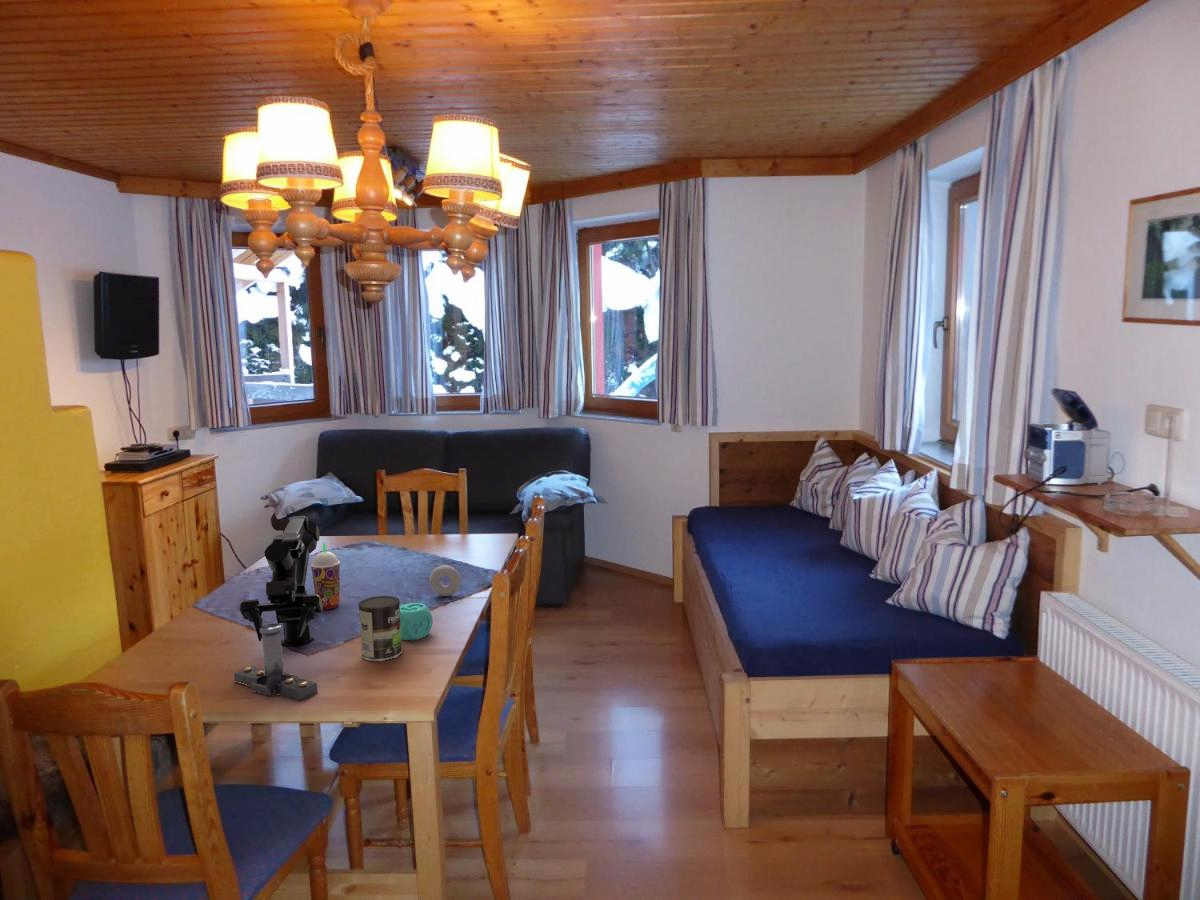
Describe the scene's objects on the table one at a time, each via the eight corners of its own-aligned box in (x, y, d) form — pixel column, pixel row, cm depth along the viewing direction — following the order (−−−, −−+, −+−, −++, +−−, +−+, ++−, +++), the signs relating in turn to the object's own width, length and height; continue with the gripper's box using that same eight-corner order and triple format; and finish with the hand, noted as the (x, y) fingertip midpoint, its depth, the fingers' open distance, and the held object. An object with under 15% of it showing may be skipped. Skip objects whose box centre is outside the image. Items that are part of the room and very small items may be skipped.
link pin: (262, 686, 200) (257, 626, 197) (283, 681, 202) (278, 622, 200) (267, 693, 196) (262, 632, 194) (288, 688, 199) (284, 627, 196)
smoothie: (326, 612, 251) (322, 547, 248) (307, 608, 256) (303, 544, 253) (348, 604, 258) (344, 541, 255) (329, 600, 263) (325, 538, 260)
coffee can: (409, 647, 222) (406, 596, 220) (391, 663, 212) (388, 609, 210) (372, 645, 224) (369, 594, 222) (354, 660, 214) (350, 607, 212)
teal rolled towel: (392, 636, 231) (390, 608, 230) (416, 628, 237) (415, 600, 236) (409, 643, 226) (407, 614, 225) (433, 634, 232) (432, 606, 231)
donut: (463, 594, 266) (461, 564, 265) (459, 598, 263) (458, 567, 261) (432, 594, 267) (430, 563, 266) (428, 597, 264) (427, 566, 262)
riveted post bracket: (229, 684, 201) (228, 672, 201) (257, 672, 208) (256, 660, 208) (294, 703, 190) (293, 691, 190) (322, 690, 197) (321, 677, 197)
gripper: (237, 569, 206) (230, 628, 197) (316, 562, 209) (313, 621, 200) (247, 590, 215) (242, 647, 206) (323, 583, 218) (321, 639, 209)
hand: (279, 638), depth 205 cm, fingers open, 9 cm apart
